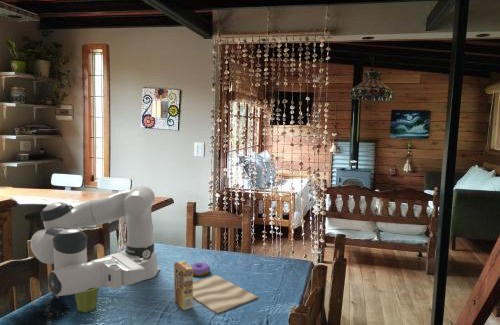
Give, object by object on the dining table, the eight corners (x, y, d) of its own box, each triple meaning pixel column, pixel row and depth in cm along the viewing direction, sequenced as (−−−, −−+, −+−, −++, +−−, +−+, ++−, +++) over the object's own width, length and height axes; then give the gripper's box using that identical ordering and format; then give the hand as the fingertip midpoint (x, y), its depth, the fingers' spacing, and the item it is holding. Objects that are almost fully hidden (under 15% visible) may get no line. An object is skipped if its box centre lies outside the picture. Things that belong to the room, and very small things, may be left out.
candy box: (193, 307, 142) (193, 267, 140) (182, 310, 139) (183, 270, 138) (183, 298, 149) (184, 260, 147) (173, 301, 147) (173, 262, 145)
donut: (190, 267, 180) (192, 257, 180) (209, 272, 180) (211, 262, 180) (186, 276, 170) (188, 265, 170) (206, 281, 170) (209, 270, 170)
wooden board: (176, 288, 158) (176, 286, 158) (215, 276, 171) (215, 274, 171) (217, 314, 137) (217, 312, 137) (258, 298, 151) (258, 296, 151)
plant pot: (72, 317, 133) (71, 293, 132) (72, 305, 142) (72, 282, 141) (101, 312, 137) (100, 289, 136) (99, 301, 145) (99, 279, 144)
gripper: (94, 270, 131) (132, 262, 140) (118, 291, 116) (160, 279, 125) (94, 253, 130) (132, 245, 140) (118, 271, 115) (160, 261, 124)
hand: (145, 261), depth 132 cm, fingers closed
